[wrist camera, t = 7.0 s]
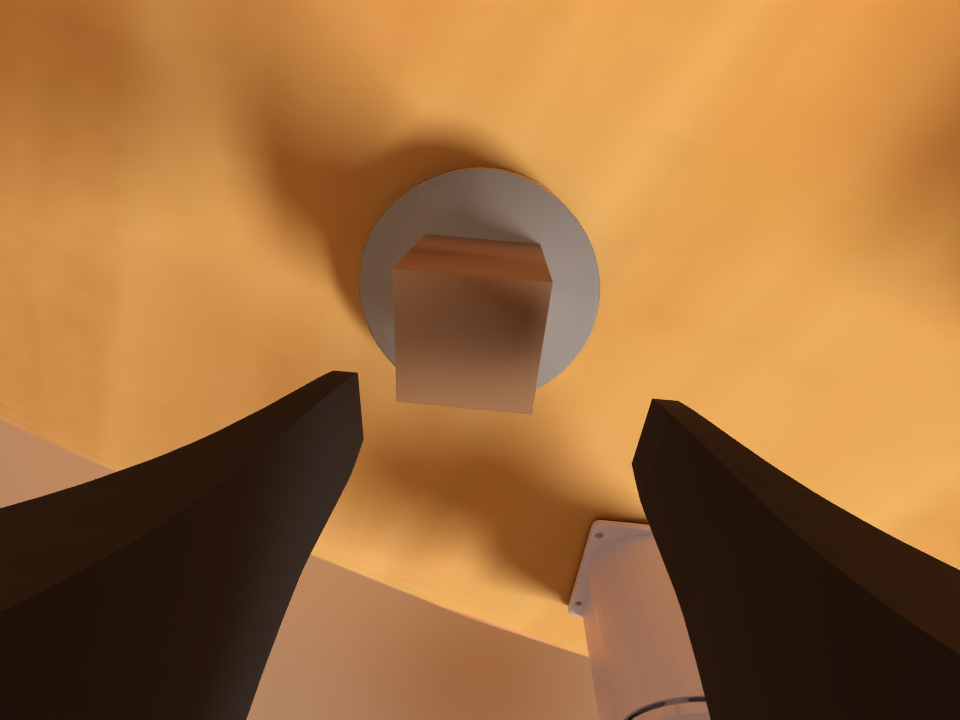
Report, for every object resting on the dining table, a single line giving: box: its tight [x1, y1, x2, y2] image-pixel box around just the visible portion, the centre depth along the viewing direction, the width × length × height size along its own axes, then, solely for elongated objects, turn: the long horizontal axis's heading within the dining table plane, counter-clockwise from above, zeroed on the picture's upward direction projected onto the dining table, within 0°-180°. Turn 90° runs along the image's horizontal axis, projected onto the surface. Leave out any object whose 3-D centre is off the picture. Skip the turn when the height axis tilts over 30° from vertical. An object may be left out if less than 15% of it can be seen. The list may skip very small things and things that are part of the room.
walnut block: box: [393, 234, 553, 414], centre depth 15 cm, size 4×4×5 cm
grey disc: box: [359, 167, 600, 389], centre depth 18 cm, size 10×10×2 cm
